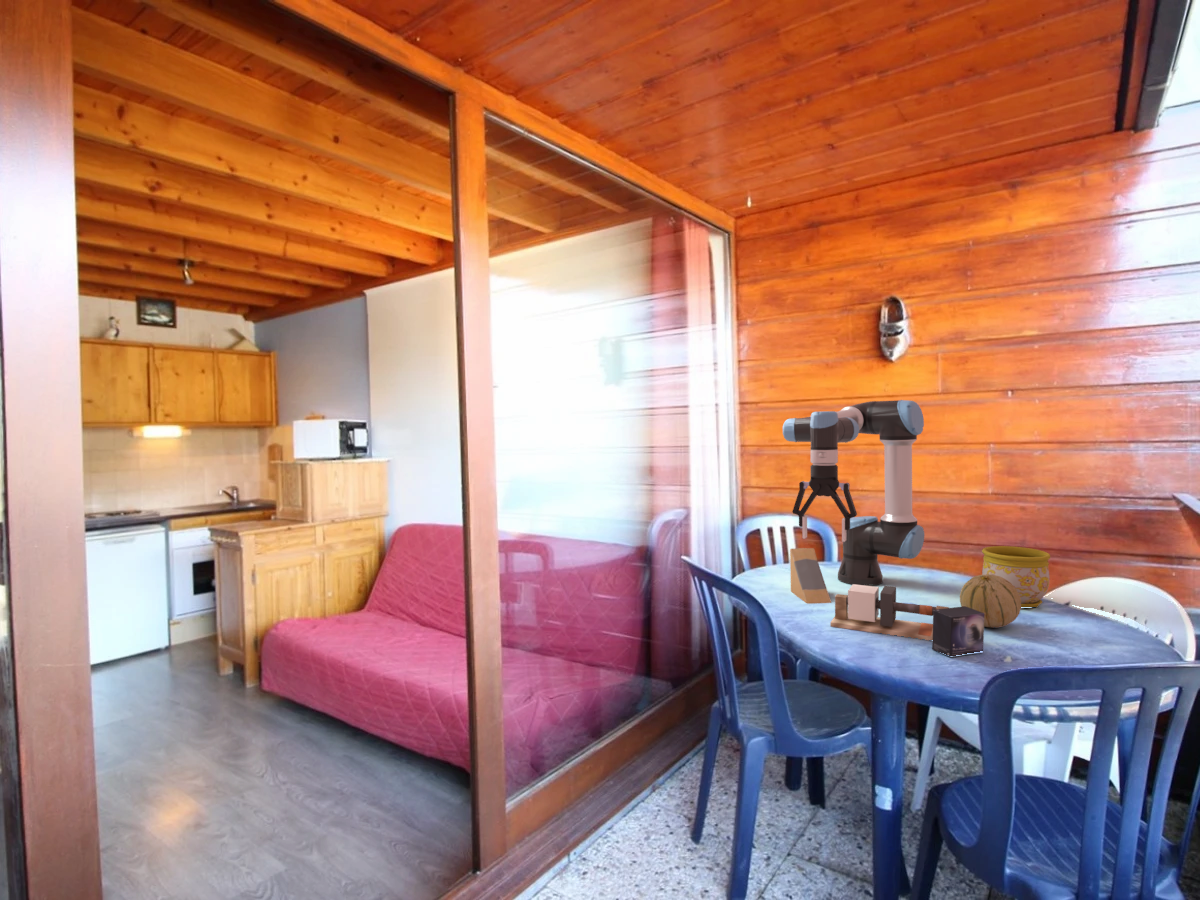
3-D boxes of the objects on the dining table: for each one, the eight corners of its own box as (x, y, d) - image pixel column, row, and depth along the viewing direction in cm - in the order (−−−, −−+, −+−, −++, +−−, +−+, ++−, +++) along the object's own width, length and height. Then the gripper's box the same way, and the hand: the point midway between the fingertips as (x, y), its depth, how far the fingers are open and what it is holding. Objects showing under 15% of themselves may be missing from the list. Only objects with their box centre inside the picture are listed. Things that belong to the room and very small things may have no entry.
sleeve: (848, 618, 183) (848, 590, 183) (852, 611, 190) (853, 584, 190) (874, 622, 180) (874, 593, 179) (878, 614, 186) (878, 586, 186)
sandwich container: (806, 604, 207) (806, 558, 206) (789, 591, 222) (789, 548, 221) (832, 603, 207) (832, 557, 206) (814, 590, 222) (814, 547, 222)
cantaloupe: (1019, 622, 184) (1020, 570, 184) (1022, 638, 172) (1023, 582, 171) (960, 615, 192) (960, 565, 191) (958, 629, 179) (959, 576, 179)
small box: (951, 658, 159) (951, 616, 158) (930, 649, 165) (931, 609, 164) (985, 653, 162) (985, 612, 161) (963, 645, 168) (964, 605, 167)
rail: (830, 626, 184) (830, 599, 184) (837, 615, 194) (837, 590, 193) (949, 643, 169) (950, 614, 169) (951, 631, 178) (951, 603, 178)
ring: (880, 625, 178) (880, 593, 178) (884, 616, 186) (884, 585, 186) (892, 626, 177) (892, 594, 176) (895, 617, 185) (896, 586, 184)
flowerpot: (1038, 615, 191) (1039, 560, 190) (972, 602, 204) (972, 551, 204) (1057, 603, 202) (1058, 551, 201) (994, 592, 216) (994, 543, 215)
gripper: (781, 464, 191) (781, 538, 192) (864, 466, 179) (863, 544, 180) (787, 462, 197) (788, 534, 198) (868, 464, 186) (868, 540, 187)
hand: (824, 539), depth 189 cm, fingers open, 10 cm apart
